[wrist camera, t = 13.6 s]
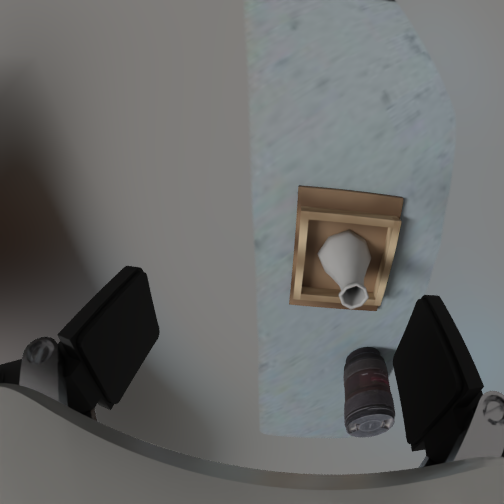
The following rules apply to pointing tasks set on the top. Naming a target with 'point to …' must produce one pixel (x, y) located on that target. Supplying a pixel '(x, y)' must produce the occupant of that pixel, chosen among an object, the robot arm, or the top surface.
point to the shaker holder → (333, 222)
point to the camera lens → (367, 394)
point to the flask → (347, 266)
